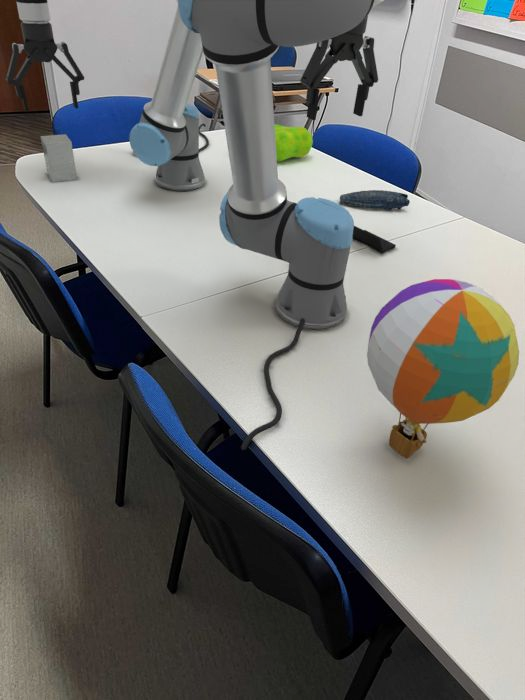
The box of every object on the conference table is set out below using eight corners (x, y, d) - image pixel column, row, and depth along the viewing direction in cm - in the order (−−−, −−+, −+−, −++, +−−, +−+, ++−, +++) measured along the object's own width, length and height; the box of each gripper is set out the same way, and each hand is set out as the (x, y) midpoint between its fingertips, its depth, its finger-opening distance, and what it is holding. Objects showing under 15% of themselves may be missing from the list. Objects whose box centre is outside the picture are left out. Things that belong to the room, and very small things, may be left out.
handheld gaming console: (400, 239, 139) (392, 217, 131) (388, 262, 138) (379, 241, 130) (362, 231, 145) (352, 209, 137) (350, 252, 144) (340, 232, 136)
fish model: (408, 214, 157) (412, 198, 153) (339, 207, 158) (341, 191, 154) (406, 206, 162) (410, 190, 159) (339, 199, 163) (341, 183, 160)
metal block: (77, 179, 160) (71, 141, 152) (52, 182, 156) (45, 143, 149) (71, 171, 164) (65, 134, 157) (47, 173, 161) (40, 136, 154)
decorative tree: (227, 120, 186) (308, 120, 191) (227, 150, 193) (305, 149, 198) (234, 135, 173) (321, 134, 178) (234, 166, 179) (317, 165, 184)
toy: (318, 439, 84) (351, 278, 65) (393, 389, 94) (440, 239, 76) (417, 524, 73) (492, 360, 54) (489, 457, 83) (573, 301, 65)
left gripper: (80, 19, 143) (92, 102, 156) (-19, 19, 132) (2, 108, 146) (87, 23, 138) (99, 109, 151) (-15, 23, 127) (6, 115, 141)
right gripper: (385, 9, 118) (366, 109, 131) (291, 6, 107) (281, 115, 121) (407, 14, 113) (385, 117, 126) (311, 12, 102) (298, 124, 116)
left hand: (51, 109), depth 148 cm, fingers open, 13 cm apart
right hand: (334, 116), depth 123 cm, fingers open, 13 cm apart
